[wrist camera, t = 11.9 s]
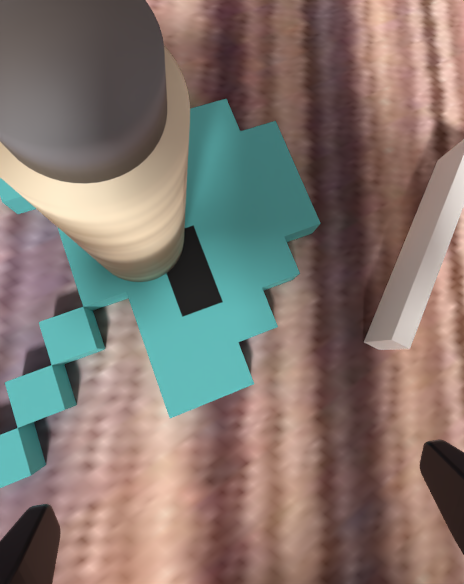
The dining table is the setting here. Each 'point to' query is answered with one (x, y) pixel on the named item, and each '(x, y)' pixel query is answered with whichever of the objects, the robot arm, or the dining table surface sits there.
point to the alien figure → (181, 282)
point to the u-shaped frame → (420, 256)
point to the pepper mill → (97, 128)
